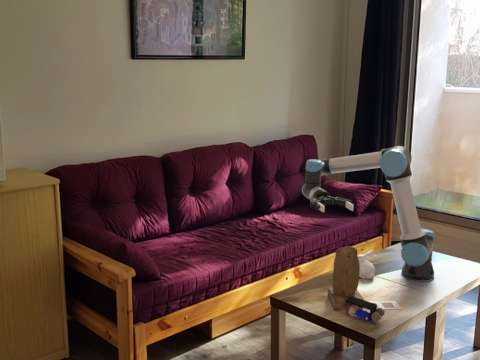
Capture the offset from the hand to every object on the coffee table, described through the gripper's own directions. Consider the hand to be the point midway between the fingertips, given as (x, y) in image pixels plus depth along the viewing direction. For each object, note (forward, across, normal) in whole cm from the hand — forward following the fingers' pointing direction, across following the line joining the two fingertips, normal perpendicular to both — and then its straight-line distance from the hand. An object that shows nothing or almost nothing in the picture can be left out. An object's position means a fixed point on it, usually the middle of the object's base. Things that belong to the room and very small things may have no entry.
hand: (338, 208), depth 254 cm
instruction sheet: (+19, -13, -38) cm, 45 cm away
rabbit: (-14, -22, -38) cm, 46 cm away
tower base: (+15, +1, -38) cm, 41 cm away
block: (+15, +1, -33) cm, 36 cm away
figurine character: (+29, 0, -38) cm, 48 cm away
